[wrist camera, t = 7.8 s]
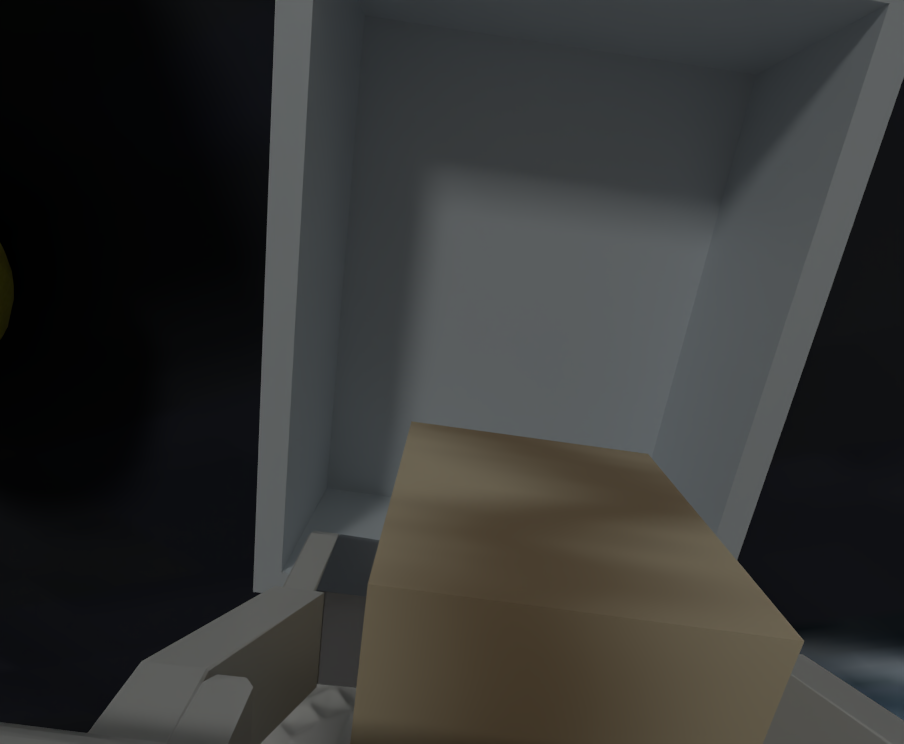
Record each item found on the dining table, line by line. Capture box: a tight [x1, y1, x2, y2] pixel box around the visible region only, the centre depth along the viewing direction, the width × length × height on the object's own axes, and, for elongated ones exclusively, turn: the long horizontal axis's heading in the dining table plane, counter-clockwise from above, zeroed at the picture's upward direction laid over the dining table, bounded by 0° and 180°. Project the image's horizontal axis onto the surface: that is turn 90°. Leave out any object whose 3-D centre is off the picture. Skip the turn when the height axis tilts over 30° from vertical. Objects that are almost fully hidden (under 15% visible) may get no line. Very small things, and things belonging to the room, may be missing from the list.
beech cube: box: [350, 421, 804, 744], centre depth 9 cm, size 5×5×5 cm
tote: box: [253, 0, 904, 593], centre depth 15 cm, size 18×14×6 cm
